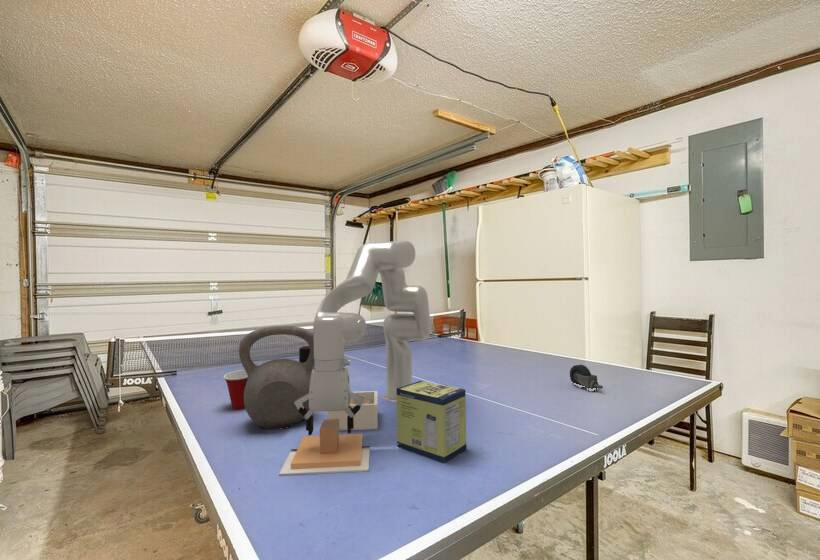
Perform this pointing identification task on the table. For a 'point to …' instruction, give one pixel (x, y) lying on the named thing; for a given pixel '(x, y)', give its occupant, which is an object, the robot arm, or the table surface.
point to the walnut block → (363, 402)
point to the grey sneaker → (583, 377)
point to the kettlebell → (276, 381)
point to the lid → (328, 448)
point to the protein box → (431, 420)
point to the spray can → (304, 354)
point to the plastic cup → (236, 387)
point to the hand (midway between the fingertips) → (330, 432)
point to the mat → (364, 467)
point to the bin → (360, 413)
